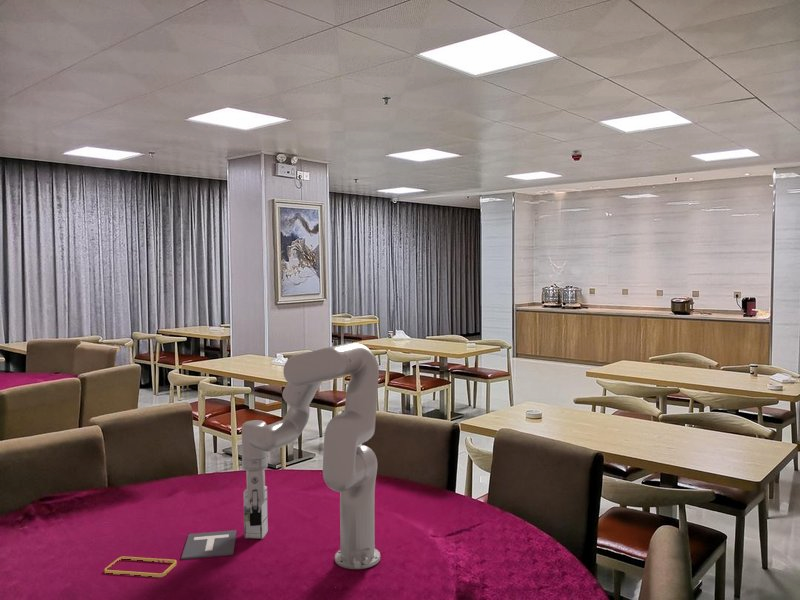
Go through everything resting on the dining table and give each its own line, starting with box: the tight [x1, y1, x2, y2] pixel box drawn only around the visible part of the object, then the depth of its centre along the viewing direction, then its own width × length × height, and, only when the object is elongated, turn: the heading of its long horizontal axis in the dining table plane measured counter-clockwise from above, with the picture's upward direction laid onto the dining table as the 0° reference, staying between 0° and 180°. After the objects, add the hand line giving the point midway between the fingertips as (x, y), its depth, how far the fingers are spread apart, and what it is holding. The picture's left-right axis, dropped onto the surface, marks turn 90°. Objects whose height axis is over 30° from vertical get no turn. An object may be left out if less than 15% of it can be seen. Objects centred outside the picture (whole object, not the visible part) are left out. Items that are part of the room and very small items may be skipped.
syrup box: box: [242, 485, 269, 540], centre depth 191 cm, size 6×6×14 cm
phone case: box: [104, 556, 178, 578], centre depth 170 cm, size 8×17×1 cm, turn 82°
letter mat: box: [180, 529, 237, 560], centre depth 184 cm, size 16×14×1 cm
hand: (255, 519), depth 191 cm, fingers closed on syrup box, 7 cm apart
